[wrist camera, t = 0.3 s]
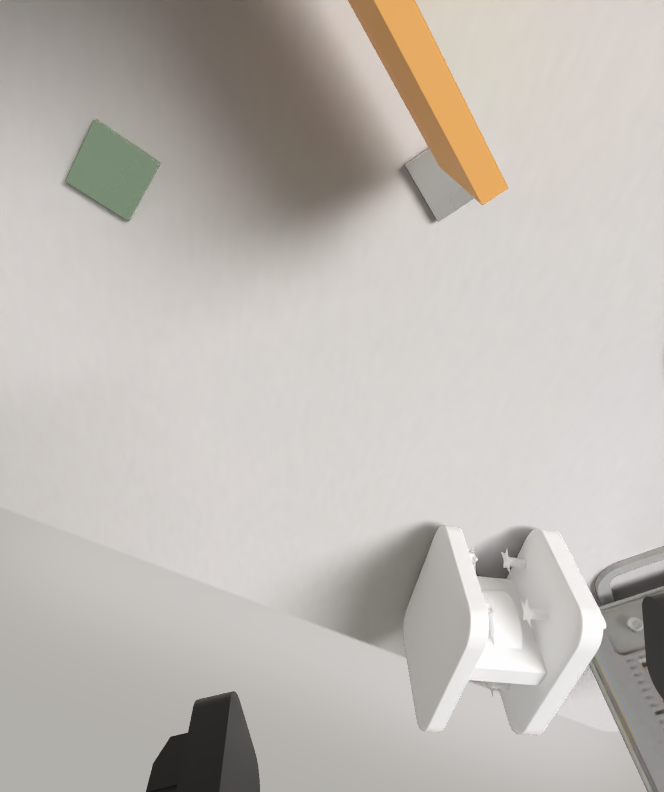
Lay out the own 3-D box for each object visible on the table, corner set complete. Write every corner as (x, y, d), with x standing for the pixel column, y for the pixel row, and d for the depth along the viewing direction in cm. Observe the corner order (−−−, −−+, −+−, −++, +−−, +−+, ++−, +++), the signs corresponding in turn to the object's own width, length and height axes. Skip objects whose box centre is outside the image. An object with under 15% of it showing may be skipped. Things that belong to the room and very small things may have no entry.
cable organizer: (440, 502, 49) (475, 619, 39) (558, 516, 50) (620, 633, 40) (397, 618, 56) (417, 742, 46) (500, 628, 57) (541, 750, 47)
